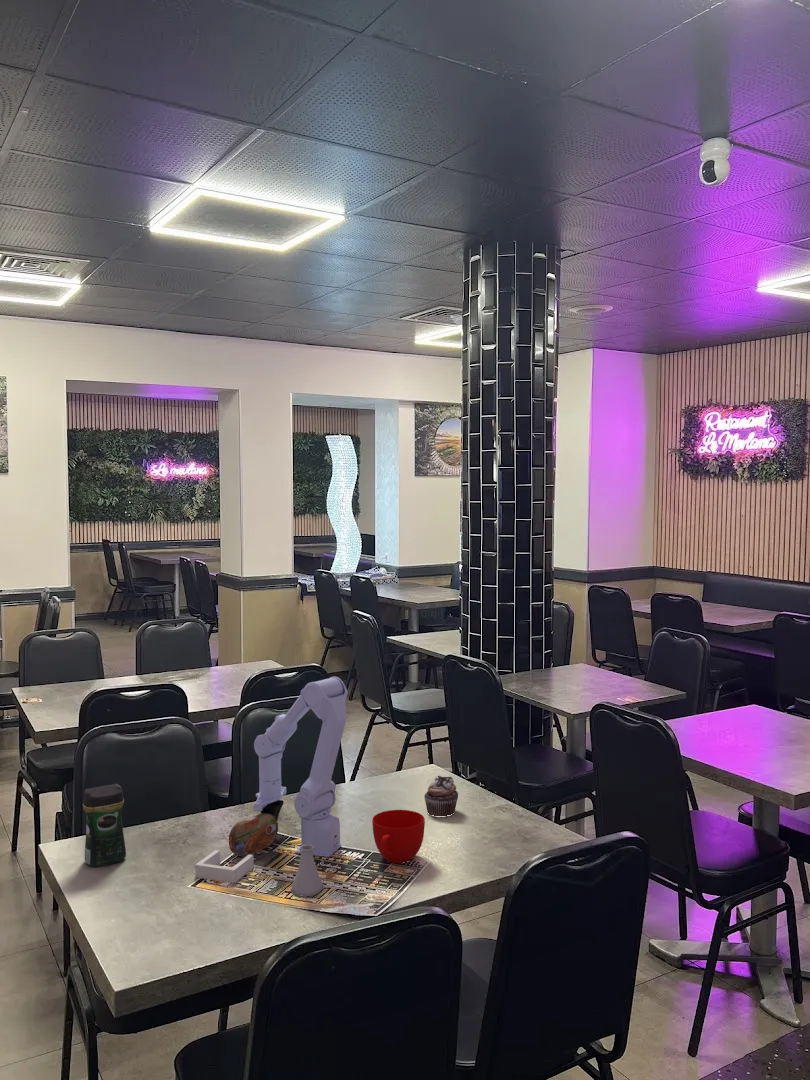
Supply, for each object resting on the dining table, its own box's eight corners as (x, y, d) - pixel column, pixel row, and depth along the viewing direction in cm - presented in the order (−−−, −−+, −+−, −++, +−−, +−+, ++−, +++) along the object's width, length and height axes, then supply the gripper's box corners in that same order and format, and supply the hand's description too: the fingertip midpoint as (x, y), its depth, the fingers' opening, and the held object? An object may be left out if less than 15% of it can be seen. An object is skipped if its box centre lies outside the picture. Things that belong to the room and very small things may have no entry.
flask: (309, 900, 190) (309, 855, 190) (284, 893, 194) (284, 849, 194) (329, 888, 196) (329, 844, 196) (304, 881, 200) (304, 838, 200)
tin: (235, 861, 212) (234, 827, 212) (226, 858, 214) (226, 825, 213) (279, 842, 224) (278, 810, 223) (270, 839, 226) (270, 808, 225)
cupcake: (426, 806, 250) (425, 772, 249) (459, 807, 248) (459, 773, 248) (422, 818, 240) (422, 782, 240) (456, 819, 239) (456, 783, 239)
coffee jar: (121, 851, 219) (119, 778, 218) (128, 861, 212) (127, 787, 211) (81, 859, 214) (79, 785, 213) (87, 870, 207) (86, 794, 206)
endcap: (253, 867, 208) (253, 855, 208) (234, 883, 199) (234, 870, 199) (215, 862, 211) (215, 849, 211) (195, 877, 203) (195, 864, 203)
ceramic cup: (358, 871, 205) (357, 830, 205) (384, 845, 221) (383, 807, 220) (409, 879, 200) (408, 837, 200) (432, 852, 216) (431, 812, 216)
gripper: (269, 769, 235) (270, 818, 236) (243, 785, 222) (243, 837, 222) (293, 771, 233) (293, 821, 234) (267, 788, 219) (268, 840, 220)
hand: (271, 829), depth 228 cm, fingers closed
